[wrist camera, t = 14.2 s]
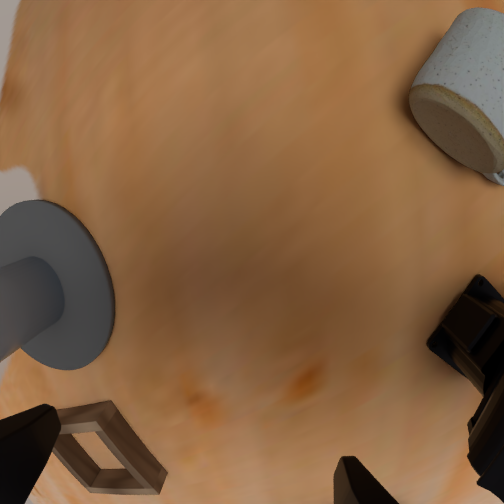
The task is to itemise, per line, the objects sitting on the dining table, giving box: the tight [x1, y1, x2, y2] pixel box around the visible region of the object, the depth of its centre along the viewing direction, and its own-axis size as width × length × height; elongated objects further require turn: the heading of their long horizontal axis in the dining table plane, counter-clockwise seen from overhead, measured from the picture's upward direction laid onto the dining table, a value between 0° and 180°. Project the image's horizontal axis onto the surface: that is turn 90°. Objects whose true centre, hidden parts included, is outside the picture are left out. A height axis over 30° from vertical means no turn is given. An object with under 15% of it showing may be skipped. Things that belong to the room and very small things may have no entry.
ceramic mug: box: [409, 8, 504, 186], centre depth 13 cm, size 11×8×8 cm
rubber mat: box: [0, 200, 115, 370], centre depth 21 cm, size 14×14×1 cm
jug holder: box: [52, 401, 167, 495], centre depth 24 cm, size 10×10×3 cm
